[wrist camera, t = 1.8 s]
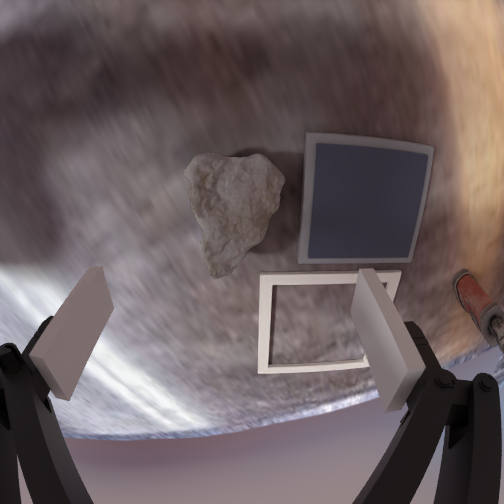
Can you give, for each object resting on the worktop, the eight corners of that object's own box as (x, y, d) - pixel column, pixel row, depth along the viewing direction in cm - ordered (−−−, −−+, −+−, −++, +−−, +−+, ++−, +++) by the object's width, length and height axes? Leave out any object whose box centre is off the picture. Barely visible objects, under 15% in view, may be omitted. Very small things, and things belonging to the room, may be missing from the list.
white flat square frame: (257, 370, 38) (257, 373, 37) (260, 271, 31) (260, 274, 30) (369, 363, 38) (370, 366, 38) (400, 269, 31) (401, 272, 30)
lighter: (447, 280, 32) (489, 336, 23) (467, 263, 31) (513, 315, 22) (464, 314, 35) (498, 365, 26) (481, 298, 33) (519, 347, 25)
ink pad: (296, 258, 30) (298, 266, 29) (305, 131, 24) (308, 133, 23) (407, 257, 30) (412, 264, 29) (428, 144, 24) (436, 147, 23)
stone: (271, 254, 30) (276, 290, 25) (186, 247, 29) (174, 282, 24) (285, 150, 25) (295, 167, 20) (188, 143, 25) (172, 157, 20)
